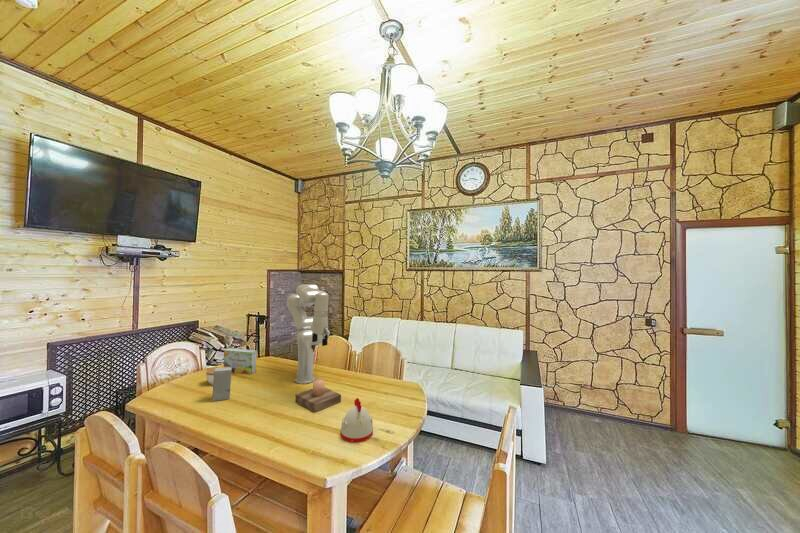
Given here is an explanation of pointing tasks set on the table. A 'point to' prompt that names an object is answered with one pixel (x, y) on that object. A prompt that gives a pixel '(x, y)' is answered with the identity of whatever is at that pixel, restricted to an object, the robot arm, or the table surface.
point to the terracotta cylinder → (318, 387)
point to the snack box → (240, 360)
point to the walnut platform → (318, 399)
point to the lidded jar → (210, 375)
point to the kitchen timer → (357, 424)
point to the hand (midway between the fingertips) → (319, 343)
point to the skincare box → (221, 383)
